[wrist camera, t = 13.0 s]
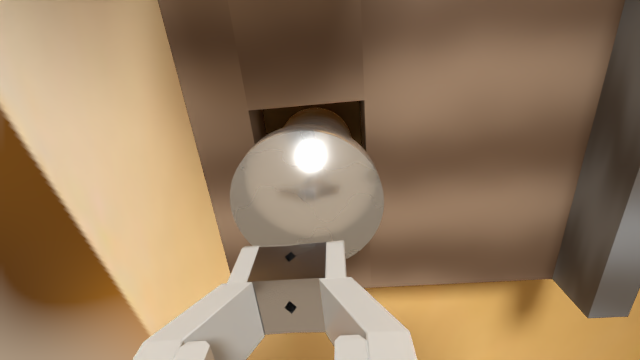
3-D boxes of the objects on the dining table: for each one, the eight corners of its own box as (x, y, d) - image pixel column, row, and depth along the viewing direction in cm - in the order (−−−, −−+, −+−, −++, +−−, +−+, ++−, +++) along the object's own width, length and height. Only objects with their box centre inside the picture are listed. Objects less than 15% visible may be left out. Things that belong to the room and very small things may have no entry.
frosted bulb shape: (259, 98, 19) (213, 138, 11) (362, 88, 18) (382, 124, 11) (275, 189, 21) (246, 270, 14) (366, 183, 21) (384, 263, 13)
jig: (181, -15, 16) (105, -40, 11) (635, -69, 15) (811, -130, 9) (246, 264, 24) (221, 332, 18) (554, 247, 22) (627, 316, 17)
